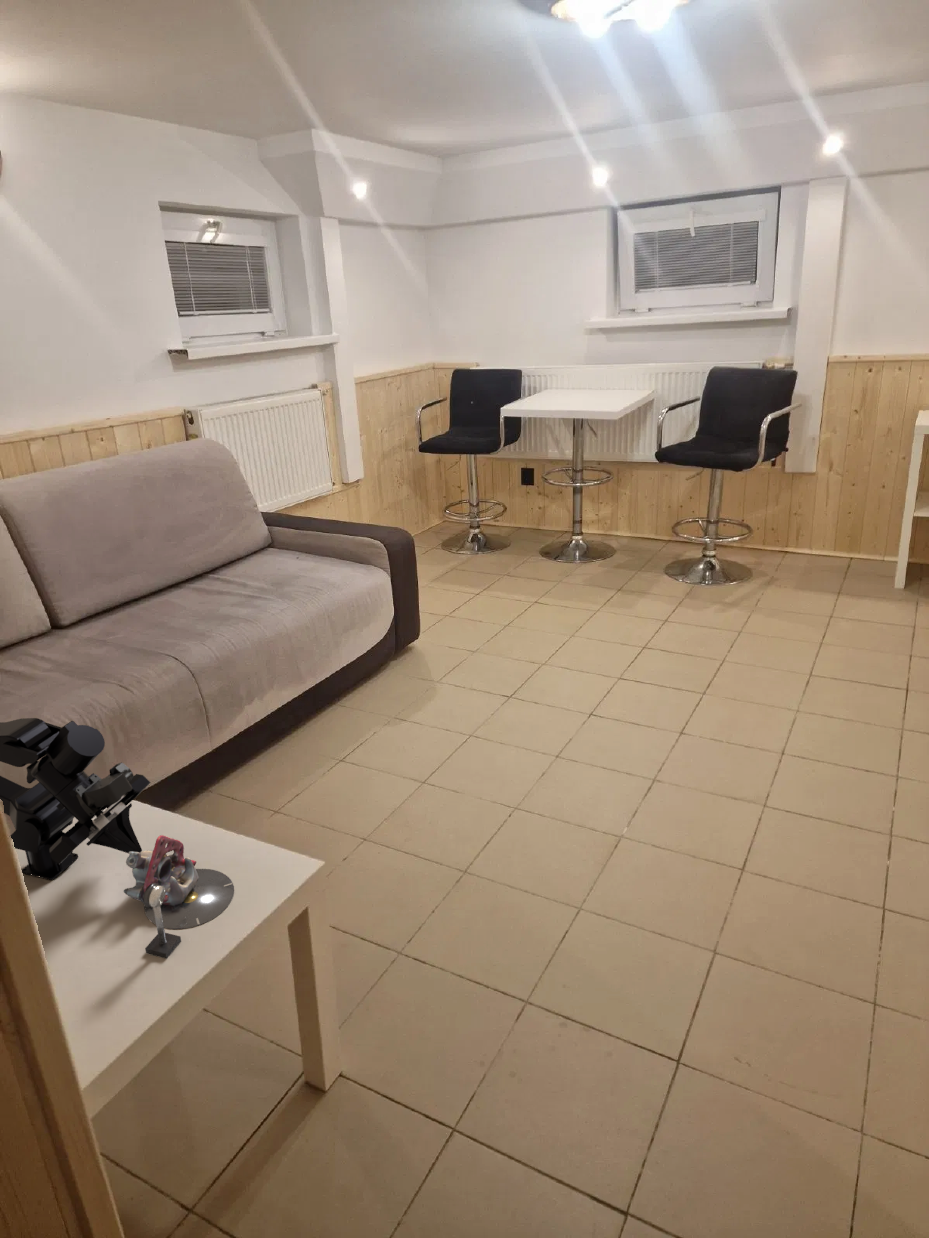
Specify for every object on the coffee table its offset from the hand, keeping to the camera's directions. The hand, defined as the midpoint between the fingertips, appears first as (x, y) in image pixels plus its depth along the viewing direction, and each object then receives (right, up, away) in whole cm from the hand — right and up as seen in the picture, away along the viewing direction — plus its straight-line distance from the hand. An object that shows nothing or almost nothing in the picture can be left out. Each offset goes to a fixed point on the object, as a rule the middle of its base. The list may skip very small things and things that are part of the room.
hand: (139, 853), depth 134 cm
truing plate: (+8, -7, 0) cm, 11 cm away
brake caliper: (+4, -7, +2) cm, 8 cm away
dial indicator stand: (+7, -11, -10) cm, 17 cm away
